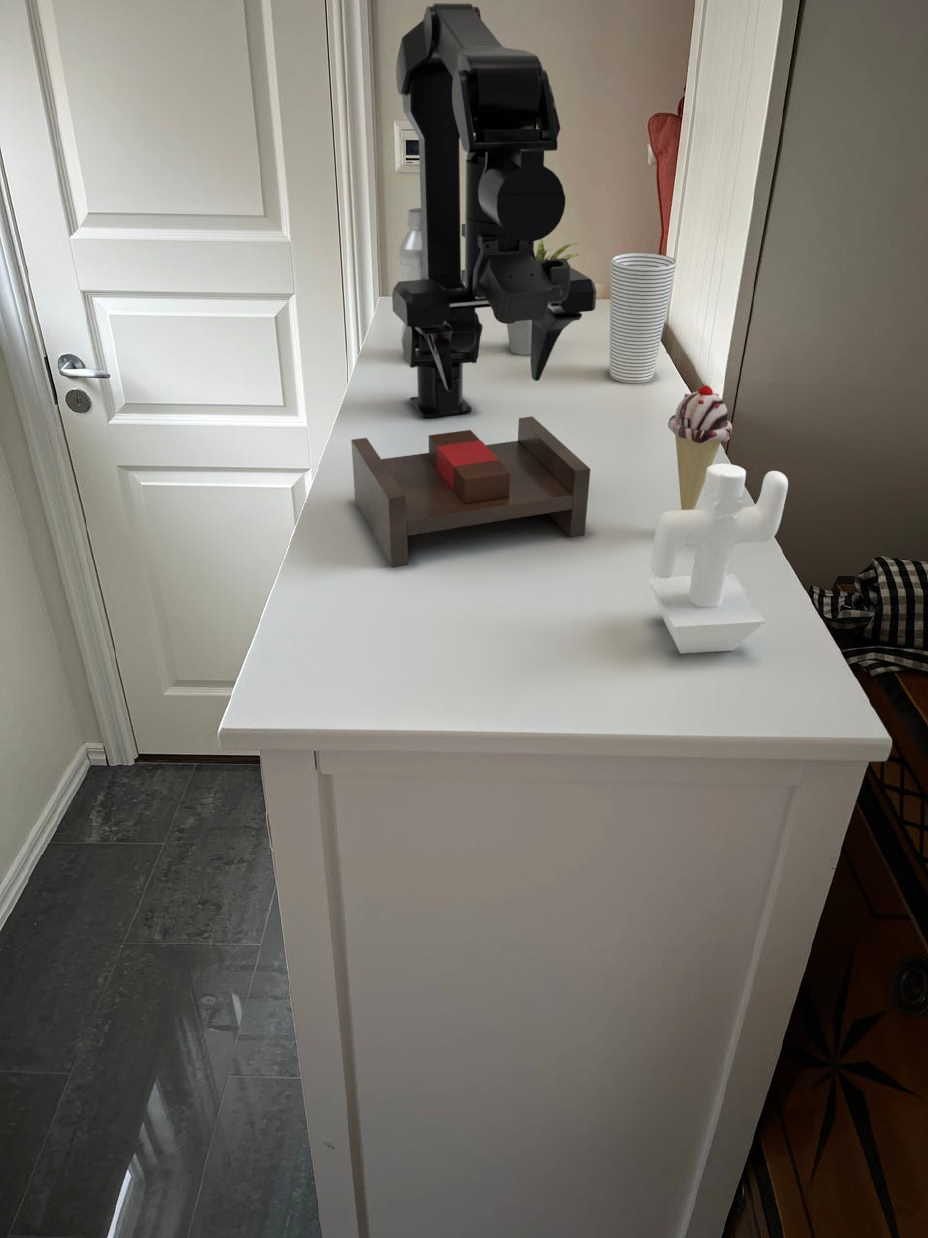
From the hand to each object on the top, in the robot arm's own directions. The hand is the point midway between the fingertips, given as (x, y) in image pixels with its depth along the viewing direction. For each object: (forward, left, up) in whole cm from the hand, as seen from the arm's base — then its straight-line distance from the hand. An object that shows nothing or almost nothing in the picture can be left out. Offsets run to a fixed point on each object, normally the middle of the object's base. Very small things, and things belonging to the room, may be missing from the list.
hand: (492, 384), depth 93 cm
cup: (-28, +31, -12) cm, 44 cm away
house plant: (-43, +23, -12) cm, 50 cm away
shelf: (+5, -5, -12) cm, 14 cm away
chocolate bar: (+5, -4, -7) cm, 10 cm away
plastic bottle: (-45, +6, -12) cm, 47 cm away
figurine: (+31, +6, -12) cm, 34 cm away
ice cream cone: (+15, +14, -12) cm, 24 cm away
